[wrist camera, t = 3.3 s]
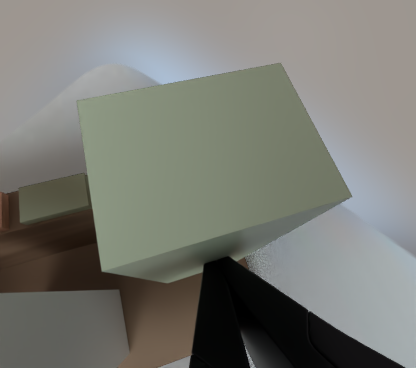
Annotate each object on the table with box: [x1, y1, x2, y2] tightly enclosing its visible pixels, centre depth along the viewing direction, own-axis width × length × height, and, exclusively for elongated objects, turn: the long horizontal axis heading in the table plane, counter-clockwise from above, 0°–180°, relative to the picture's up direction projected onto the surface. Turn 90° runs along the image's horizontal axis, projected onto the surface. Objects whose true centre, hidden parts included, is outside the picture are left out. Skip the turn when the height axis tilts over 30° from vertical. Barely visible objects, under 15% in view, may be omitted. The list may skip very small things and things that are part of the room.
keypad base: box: [0, 173, 249, 368], centre depth 11 cm, size 8×18×6 cm, turn 107°
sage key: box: [77, 63, 352, 283], centre depth 9 cm, size 3×4×11 cm
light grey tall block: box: [0, 290, 130, 368], centre depth 7 cm, size 3×4×11 cm
